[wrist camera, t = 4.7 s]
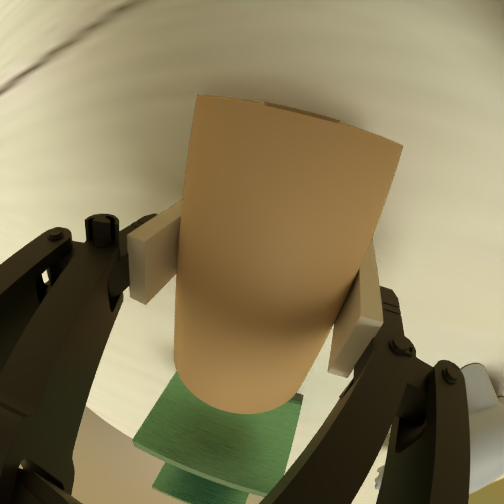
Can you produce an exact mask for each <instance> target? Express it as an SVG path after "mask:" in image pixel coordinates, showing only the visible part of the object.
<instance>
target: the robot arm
mask: <svg viewBox="0 0 504 504" xmlns="http://www.w3.org/2000/svg"><path fill="white" fill-rule="evenodd" d="M182 201H183V200H181V201H179V202H178V203H176V204H174V205H173V206H171V207H170V208H168V209H166V210H165V211H163V212H162V213H160V214H155V213H154V214H150V215H147V216H144V217H142V218H141V219H139V220H137V222H134V223H132V224H131V226H130V225H129V226H128V227H126V228H125V229H123V230H121V231H120V232H119V220H118V218H117V217H115V216H114V215H110V214H96V215H93V216H90V217H88V218H87V219H85V229H86V242H85V243H82V242H76V241H72V235H71V232H70V230H68V229H67V228H62V227H56V228H53V229H50V230H48V231H46V232H44V233H43V234H41V235H40V236H38V237H37V238H35V239H34V240H33V241H31V242H30V243H28V244H27V245H26V246H24V247H23V248H22V249H20V250H19V251H17V252H16V253H15V254H13V255H12V256H11V257H10V258H8V259H7V260H6V261H4V262H3V263H2V264H0V504H82V503H80V502H79V501H78V500H76V499H75V498H73V497H72V496H71V493H72V488H73V482H74V475H75V474H74V465H73V460H72V455H73V449H74V445H75V441H76V437H77V433H78V430H79V426H80V423H81V419H82V415H83V412H84V409H85V405H86V402H87V399H88V396H89V392H90V389H91V386H92V383H93V380H94V377H95V374H96V371H97V368H98V365H99V362H100V359H101V357H102V354H103V351H104V348H105V346H106V343H107V340H108V338H109V335H110V332H111V330H112V327H113V325H114V322H115V320H116V317H117V315H118V312H119V310H120V307H121V305H122V302H123V291H124V290H125V289H126V288H127V287H128V286H129V288H130V297H131V298H133V299H135V300H137V301H139V302H141V303H143V304H147V303H148V302H149V301H150V300H151V299H152V298H153V297H154V296H155V295H156V294H157V293H158V292H159V291H160V290H161V289H162V288H163V287H164V286H165V285H166V284H167V282H168V281H169V280H170V279H171V278H172V277H173V276H174V275H175V274H176V273H177V261H178V247H179V234H180V222H181V211H182ZM45 270H47V274H48V278H49V281H48V282H46V283H44V282H43V278H42V273H43V272H44V271H45ZM399 307H400V306H399V301H398V298H397V296H396V295H395V293H394V292H393V290H391V289H388V288H385V287H382V286H379V278H378V271H377V264H376V258H375V251H374V245H373V239H372V238H371V241H370V243H369V246H368V248H367V251H366V253H365V256H364V258H363V261H362V263H361V265H360V268H359V270H358V272H357V275H356V277H355V279H354V281H353V284H352V286H351V288H350V290H349V293H348V295H347V297H346V299H345V301H344V303H343V306H342V308H341V310H340V312H339V314H338V316H337V318H336V320H335V322H334V330H333V338H332V345H331V352H330V359H329V366H328V373H332V374H335V375H339V376H342V377H346V378H348V376H349V375H350V373H351V372H352V370H353V369H354V377H353V379H352V381H351V382H350V383H349V385H348V386H347V387H346V389H345V390H344V391H343V393H342V394H341V395H340V396H339V397H340V399H339V400H338V402H337V404H336V405H335V407H334V408H333V410H332V411H331V413H330V414H329V416H328V417H327V419H326V420H325V422H324V423H323V425H322V426H321V427H320V429H319V430H318V432H317V433H316V434H315V436H314V437H313V439H312V440H311V441H310V443H309V444H308V445H307V447H306V448H305V449H304V451H303V452H302V453H301V455H300V456H299V457H298V459H297V460H296V461H295V462H294V464H293V465H292V466H291V467H290V469H289V470H288V471H287V472H286V473H285V475H284V476H283V477H282V478H281V479H280V481H279V482H278V483H277V484H276V485H275V486H274V488H273V489H272V490H271V491H270V492H269V493H268V494H267V495H266V497H265V498H264V499H263V500H262V501H261V502H260V503H259V504H351V503H352V501H353V499H354V498H355V496H356V494H357V493H358V491H359V489H360V487H361V486H362V484H363V482H364V480H365V478H366V477H367V475H368V473H369V471H370V469H371V467H372V465H373V463H374V461H375V459H376V457H377V455H378V453H379V451H380V449H381V447H382V445H383V443H384V440H385V438H386V436H387V434H388V431H389V429H390V427H391V433H390V440H389V446H388V451H387V457H386V462H385V467H384V472H383V477H382V481H381V486H380V490H379V494H378V498H377V502H376V504H468V499H469V486H470V426H469V412H468V401H467V392H466V384H465V378H464V375H463V373H462V371H461V370H460V368H459V367H458V366H456V365H455V364H454V363H452V362H450V361H448V360H441V361H438V363H437V364H436V365H435V366H434V367H432V366H430V365H428V364H426V363H425V362H423V361H421V360H420V359H418V358H417V357H416V350H415V347H414V345H413V344H412V342H411V341H410V340H409V339H408V338H406V337H405V336H404V330H403V324H402V318H401V312H400V309H399ZM391 424H392V426H391ZM20 464H21V465H22V467H23V469H20V468H19V465H20Z"/></svg>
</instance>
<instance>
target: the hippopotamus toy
mask: <svg viewBox="0 0 504 504" xmlns="http://www.w3.org/2000/svg"><path fill="white" fill-rule="evenodd" d="M461 371H462V373H463V375H464V378H465V384H466V392H467V401H468V412H469V426H470V486H469V494H470V493H473V492H475V491H477V490H479V489H481V488H483V487H485V486H487V485H488V484H490V483H491V482H493V481H494V480H496V479H497V478H498V477H500V476H501V475H502V474H504V397H499V398H497V395H496V393H495V390H494V388H493V386H492V383H491V381H490V378H489V376H488V374H487V371H486V369H485V368H484V366H482V365H481V364H471V365H468V366H466V367H464V368H463V369H461ZM384 467H385V465H384V466H381V467H380V468H378V470H377V471H378V472H379V475H378V477H377V478H375V482H376V485H375V489H380V486H381V481H382V477H383V472H384Z"/></svg>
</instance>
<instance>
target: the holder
mask: <svg viewBox="0 0 504 504" xmlns="http://www.w3.org/2000/svg"><path fill="white" fill-rule="evenodd" d="M302 400H303V395H299V394H295V395H294V396H293V397H292V398H291V399H290V400H289V401H287V402H286V403H285V404H283V405H281V406H280V407H278V408H276V409H273V410H270V411H267V412H263V413H256V414H238V413H231V412H227V411H223V410H220V409H217V408H215V407H212V406H210V405H208V404H207V403H205V402H203V401H202V400H200V399H199V398H197V397H196V396H195V395H194V394H193V393H192V392H191V391H189V390H188V388H187V387H186V386H185V385H184V383H183V382H182V380H181V379H180V377H179V375H178V372H177V371H176V373H175V374H174V376H173V377H172V379H171V380H170V382H169V384H168V385H167V387H166V388H165V390H164V391H163V393H162V394H161V396H160V398H159V399H158V401H157V402H156V404H155V405H154V407H153V408H152V410H151V412H150V413H149V415H148V416H147V418H146V419H145V421H144V422H143V424H142V426H141V427H140V429H139V430H138V432H137V433H136V435H135V436H134V438H133V440H132V441H133V444H134V446H135V447H137V448H139V449H141V450H143V451H145V452H147V453H149V454H151V455H153V456H155V457H157V458H159V459H161V460H163V461H165V464H164V465H163V467H162V469H161V471H160V473H159V475H158V476H157V478H156V480H155V482H154V484H153V485H152V488H153V489H155V490H157V491H159V492H161V493H163V494H166V495H168V496H170V497H172V498H175V499H177V500H179V501H182V502H184V503H187V504H245V503H246V500H247V497H248V495H249V493H252V494H255V495H259V496H262V497H266V495H267V494H268V493H269V492H270V491H271V490H272V489H273V488H274V486H275V485H276V484H277V483H278V482H279V481H280V479H281V478H282V477H283V476H284V473H285V469H286V466H287V462H288V458H289V454H290V451H291V447H292V443H293V439H294V435H295V431H296V427H297V422H298V418H299V414H300V409H301V405H302Z"/></svg>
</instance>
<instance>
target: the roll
mask: <svg viewBox="0 0 504 504" xmlns="http://www.w3.org/2000/svg"><path fill="white" fill-rule="evenodd" d="M402 148H403V146H402V145H400V144H398V143H396V142H394V141H391V140H389V139H386V138H384V137H381V136H378V135H376V134H373V133H370V132H367V131H365V130H362V129H359V128H356V127H353V126H350V125H347V124H343V123H340V121H339V120H336V119H333V118H329V117H326V116H322V115H319V114H315V113H311V112H307V111H303V110H299V109H295V108H291V107H286V106H282V105H277V104H272V103H267V102H265V103H264V104H263V103H258V102H252V101H246V100H240V99H233V98H226V97H217V96H208V95H197V99H196V105H195V111H194V117H193V124H192V130H191V137H190V144H189V151H188V159H187V166H186V175H185V183H184V192H183V201H182V211H181V222H180V234H179V247H178V261H177V277H176V298H175V328H174V362H175V366H176V370H177V372H178V375H179V377H180V379H181V380H182V382H183V383H184V385H185V386H186V387H187V388H188V390H189V391H191V392H192V393H193V394H194V395H195V396H196V397H197V398H199V399H200V400H202V401H203V402H205V403H207V404H208V405H210V406H212V407H215V408H217V409H220V410H223V411H227V412H231V413H238V414H256V413H263V412H267V411H270V410H273V409H276V408H278V407H280V406H281V405H283V404H285V403H286V402H287V401H289V400H290V399H291V398H292V397H293V396H294V395H295V394H296V392H297V391H298V389H299V388H300V386H301V385H302V383H303V381H304V379H305V377H306V376H307V374H308V372H309V370H310V368H311V367H312V365H313V363H314V361H315V359H316V357H317V355H318V354H319V352H320V350H321V348H322V346H323V344H324V342H325V340H326V338H327V336H328V334H329V332H330V330H331V328H332V326H333V324H334V322H335V320H336V318H337V316H338V314H339V312H340V310H341V308H342V306H343V303H344V301H345V299H346V297H347V295H348V293H349V290H350V288H351V286H352V284H353V281H354V279H355V277H356V275H357V272H358V270H359V268H360V265H361V263H362V261H363V258H364V256H365V253H366V251H367V248H368V246H369V243H370V241H371V238H372V236H373V233H374V231H375V228H376V225H377V223H378V220H379V218H380V215H381V212H382V209H383V207H384V204H385V201H386V198H387V195H388V192H389V189H390V186H391V183H392V180H393V177H394V174H395V171H396V168H397V165H398V162H399V158H400V155H401V152H402Z"/></svg>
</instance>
